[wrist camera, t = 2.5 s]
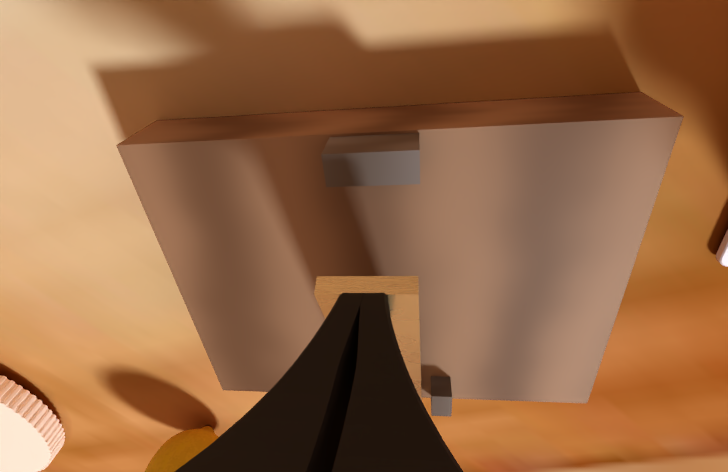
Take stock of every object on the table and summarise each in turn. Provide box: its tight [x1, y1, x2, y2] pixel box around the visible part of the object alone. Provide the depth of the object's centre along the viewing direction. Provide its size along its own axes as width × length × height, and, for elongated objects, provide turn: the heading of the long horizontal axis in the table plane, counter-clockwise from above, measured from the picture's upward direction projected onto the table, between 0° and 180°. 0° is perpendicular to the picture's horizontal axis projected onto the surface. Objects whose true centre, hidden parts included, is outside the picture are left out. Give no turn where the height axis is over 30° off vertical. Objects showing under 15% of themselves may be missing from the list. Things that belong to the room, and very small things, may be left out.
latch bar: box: [314, 276, 422, 401], centre depth 17 cm, size 3×12×1 cm, turn 5°
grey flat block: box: [116, 92, 684, 416], centre depth 19 cm, size 20×15×5 cm
